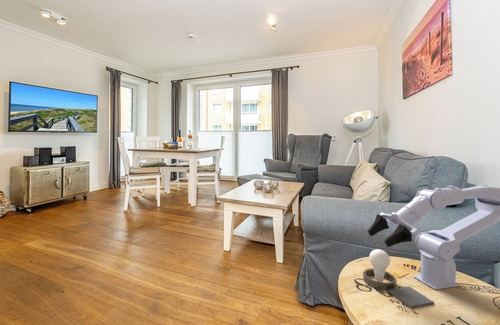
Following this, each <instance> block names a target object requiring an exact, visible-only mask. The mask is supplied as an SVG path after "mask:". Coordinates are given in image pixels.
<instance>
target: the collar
mask: <svg viewBox="0 0 500 325" xmlns="http://www.w3.org/2000/svg"><path fill="white" fill-rule="evenodd" d="M369 276H370V277H369ZM371 276H375V273H374V268H366V269H365V270H364V271H362V279H363V281H364V282H365V283H366V284H367V285H368V286H370V287H372V288H375V289H377V290H382V291H388V290H391V289H396V287H397V278H396V277H395V275H393V274H392V273H390V272H388V271H386V270H385V275H384V279H386V280H388V281H389V282H384V281H382V282H378V281H377V280H375V279H372V278H371Z"/></svg>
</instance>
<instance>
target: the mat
mask: <svg viewBox="0 0 500 325" xmlns="http://www.w3.org/2000/svg"><path fill="white" fill-rule="evenodd" d="M387 292H388V293H389V294H391V295H392V296H393V297H394V298H396V299H397V300H399V301H400V302H401V303H402V304H405V306H406V307H408V308H410V309H414V308H419V307H425V306H430V305H434V301H433V300H432V299H430V298H428V297H426V296H425V295H423V294H421V293H420V292H419V291H417V290H416V289H414V288H412V286H404V287H399V288H398V287H397V288H394V289H391V290H387Z"/></svg>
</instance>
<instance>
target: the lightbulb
mask: <svg viewBox="0 0 500 325" xmlns="http://www.w3.org/2000/svg"><path fill="white" fill-rule="evenodd" d="M368 259H369V261H370V264H371V265H372V269H374V273H375V275H374V280H375V281H377V282H384V279H385V278H384V275H385V271H386V270H387V268H388V267H389V266H390V262H391V259H390V256H389V254H388V253H387V252H385V251H384V250H383V249H379V248H377V249H373V250H371V252H370V253H369V258H368Z"/></svg>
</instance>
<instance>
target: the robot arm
mask: <svg viewBox="0 0 500 325" xmlns="http://www.w3.org/2000/svg"><path fill="white" fill-rule="evenodd" d="M471 199H472V200H473V199H474V200H475V202H474V203H475V205H474V206H475V209H476V210H477V211H475V212H473V213H471V214H470V215H468V216H466V217H463V218H462V219H460V220H458V221H456V222H454V223H453V224H451V225H448V226H447V227H445V228H443V229H431V230H428V231H423V232H420V231H419V229H418V228H416V227H414V225H415V224H417V223H418V222H419V221H420V220H423V218H425V217H426V216H427V215H429V214H430V213H431V212H432V211H434V210H443V209H445V208H446V207H447V206H452V205H458V204H459V205H460V204H463V202H464V201H465V200H471ZM499 222H500V186H494V185H493V186H492V185H487V184H477V185H476V186H470V187H465V188H462V189H461V188H460V187H457V186H455V185H452V184H451V185H447V186H446V187H443V188H441V187H434V189H428V188H423V189H419V190H418V191H417V192H416V195H415V197H413V198H412V200H411V201H410V202H408V203H407V204H405V205H404V206H403V207H402V208H400V209H398V210H397V211H396V212H391V213H385V212H380V213H377V214H376V216H375V219H374V222H373V223H372V224H371V226H370V228H369V229H368V230H367V233H368V234H369V236H371V237H373V236H375V235H376V234H379V233H380V232H382V231H384V230H389V229H390V226H389V225H388V224H390V225H392V226H393V227H395V228H396V229H395V230H394V231H393V233H391V234H390V235H388V237H387V238H386V239H385V240H384V241H383V242H384V245H386V247H388V248H390V247H393V246H395V245H397V244H401V243H407V242H408V243H411V242H412V241H413V238H414V239H415V241H414V242H415V246H416V247H417V248H418V249H419V250H418V251H419V253H420V274H415V275H413V278H414V279H417V280H418V281H420V282H421V283H423V284H426V285H427V286H428V287H430V288H432V289H434V290H437V291H438V290H442V289H448V288H454V287H458V286H459V284H458V283H456V282H457V281H456V279H457V276H456V273H457V265H456V262H455V260H454V259H453V258H454V257H455V255H456V254H458V253H459V252H460V251H461V247H460V243H461V242H463V241H466V240H467V239H470V238H471V237H472V236H475V235H477V234H478V233H480V232H482V231H484V230H486V229H488V228H489V227H492V226H493V225H495V224H497V223H499ZM412 237H413V238H412Z"/></svg>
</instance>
